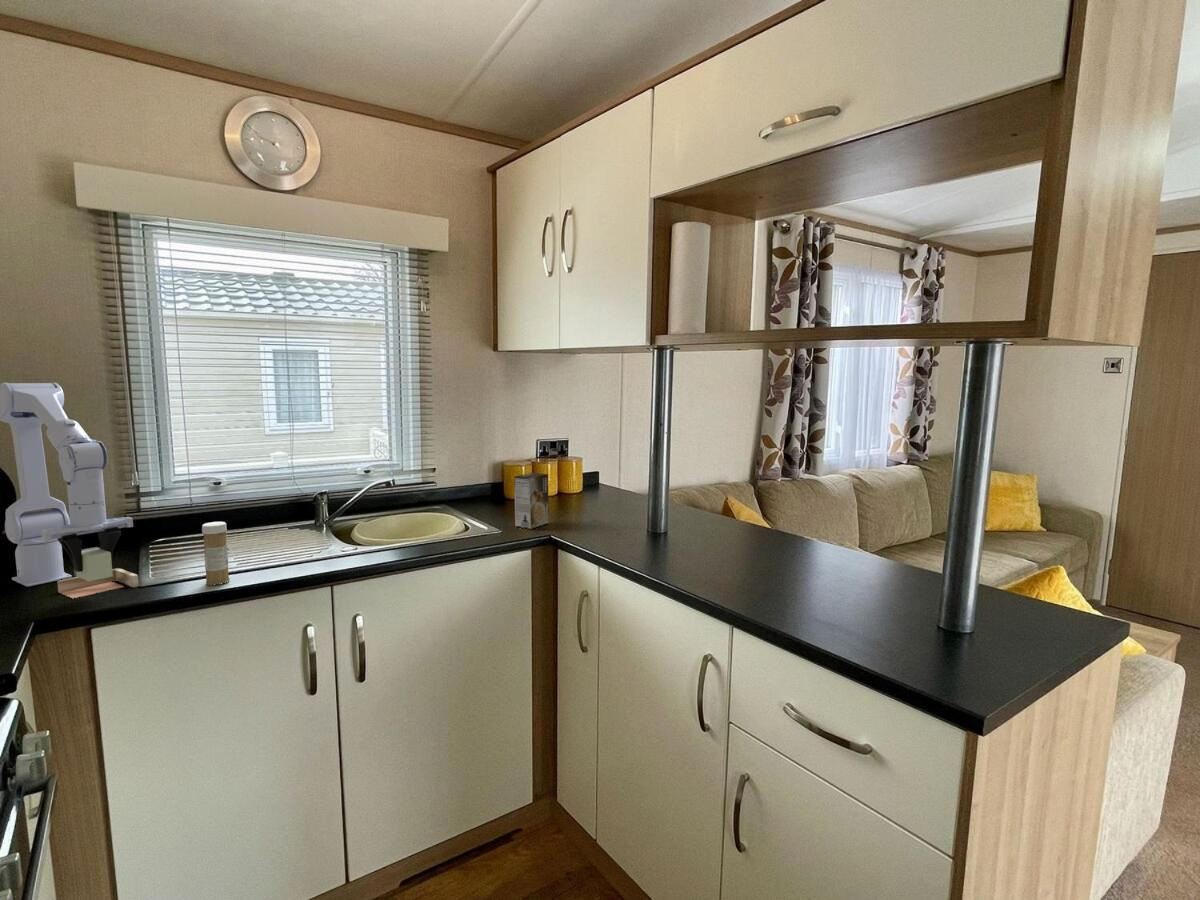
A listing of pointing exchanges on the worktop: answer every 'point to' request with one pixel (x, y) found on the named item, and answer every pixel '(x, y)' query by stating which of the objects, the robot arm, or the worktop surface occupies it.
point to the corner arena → (96, 584)
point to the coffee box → (531, 500)
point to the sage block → (95, 564)
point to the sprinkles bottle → (215, 552)
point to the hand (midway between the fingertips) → (92, 568)
